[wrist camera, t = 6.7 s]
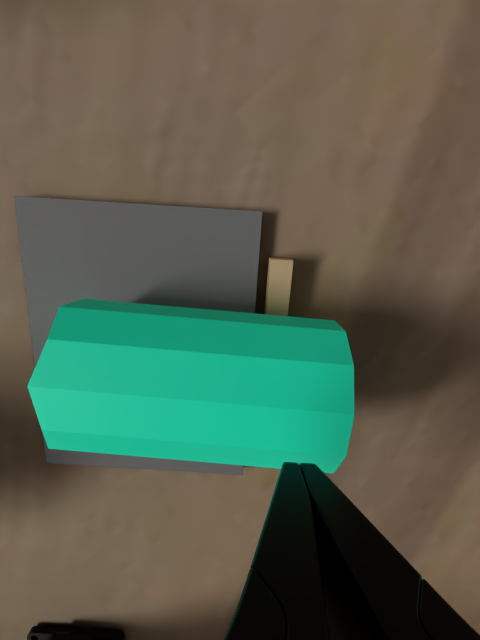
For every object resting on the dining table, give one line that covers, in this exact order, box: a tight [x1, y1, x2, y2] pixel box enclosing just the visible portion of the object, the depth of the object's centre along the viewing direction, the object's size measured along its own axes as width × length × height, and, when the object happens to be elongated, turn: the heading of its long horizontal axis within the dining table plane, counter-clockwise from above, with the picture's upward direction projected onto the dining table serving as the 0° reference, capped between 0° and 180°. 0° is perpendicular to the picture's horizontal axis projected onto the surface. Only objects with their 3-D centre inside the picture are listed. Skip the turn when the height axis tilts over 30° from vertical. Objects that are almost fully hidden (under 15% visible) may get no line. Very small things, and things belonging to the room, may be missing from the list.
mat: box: [14, 196, 262, 475], centre depth 16 cm, size 14×11×1 cm
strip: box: [264, 257, 293, 316], centre depth 16 cm, size 10×1×1 cm, turn 177°
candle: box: [27, 299, 354, 473], centre depth 13 cm, size 6×6×12 cm
